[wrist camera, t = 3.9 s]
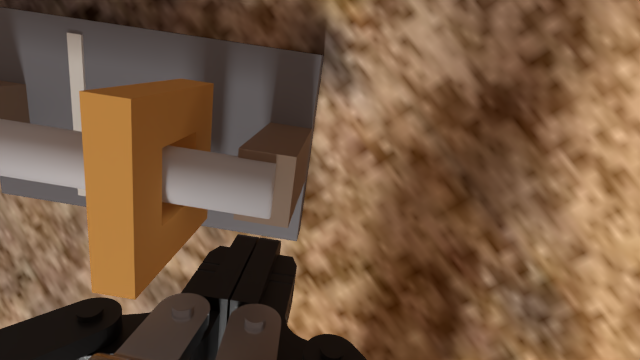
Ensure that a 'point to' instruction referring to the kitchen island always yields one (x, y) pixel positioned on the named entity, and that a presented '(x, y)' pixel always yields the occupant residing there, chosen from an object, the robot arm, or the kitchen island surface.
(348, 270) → the kitchen island surface
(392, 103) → the kitchen island surface
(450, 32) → the kitchen island surface
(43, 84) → the pipe stand
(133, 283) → the orange square ring
